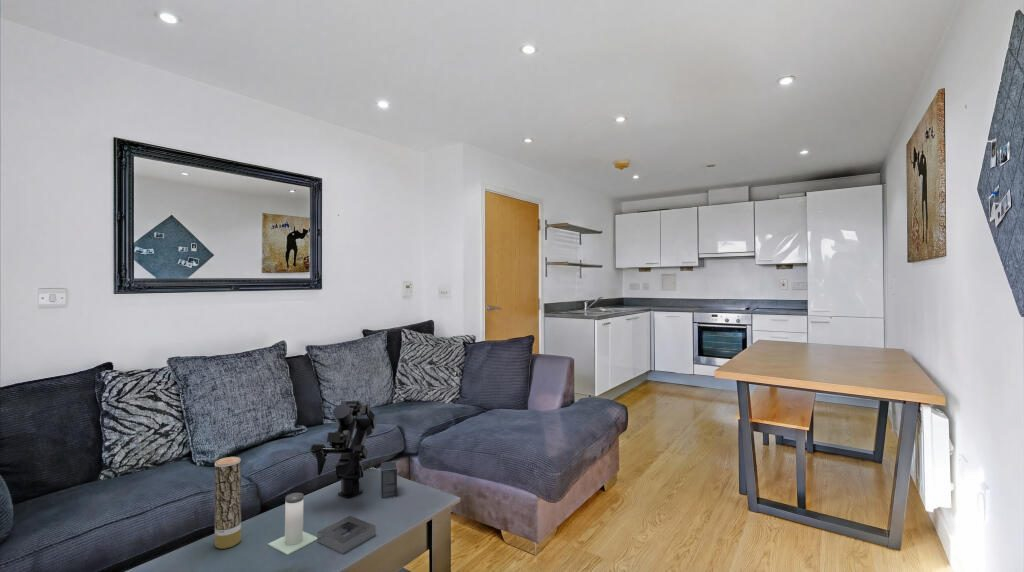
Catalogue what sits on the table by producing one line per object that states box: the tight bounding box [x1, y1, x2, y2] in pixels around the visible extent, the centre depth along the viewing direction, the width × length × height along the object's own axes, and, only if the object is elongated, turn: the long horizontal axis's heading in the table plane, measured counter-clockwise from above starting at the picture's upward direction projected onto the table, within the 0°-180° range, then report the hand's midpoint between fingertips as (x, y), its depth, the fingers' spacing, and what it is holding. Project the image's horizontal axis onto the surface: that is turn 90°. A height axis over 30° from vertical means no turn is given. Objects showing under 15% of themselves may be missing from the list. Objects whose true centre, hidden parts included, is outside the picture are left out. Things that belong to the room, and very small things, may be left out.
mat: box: [267, 530, 317, 556], centre depth 142 cm, size 10×10×1 cm
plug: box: [284, 492, 305, 545], centre depth 142 cm, size 5×5×13 cm
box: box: [380, 460, 398, 499], centre depth 176 cm, size 8×6×11 cm
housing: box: [316, 515, 377, 555], centre depth 144 cm, size 12×12×3 cm
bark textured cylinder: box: [214, 456, 242, 550], centre depth 142 cm, size 7×7×25 cm
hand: (332, 475), depth 159 cm, fingers open, 9 cm apart
